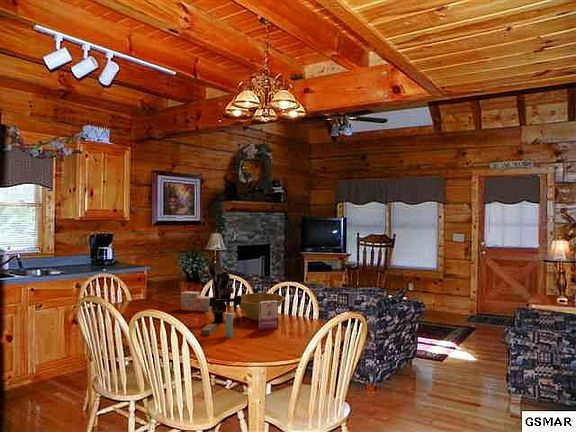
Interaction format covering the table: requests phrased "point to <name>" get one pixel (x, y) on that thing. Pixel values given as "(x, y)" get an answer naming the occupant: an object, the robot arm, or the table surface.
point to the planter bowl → (257, 303)
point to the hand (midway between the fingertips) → (227, 313)
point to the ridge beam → (208, 329)
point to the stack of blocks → (194, 301)
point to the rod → (229, 325)
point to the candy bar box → (268, 315)
